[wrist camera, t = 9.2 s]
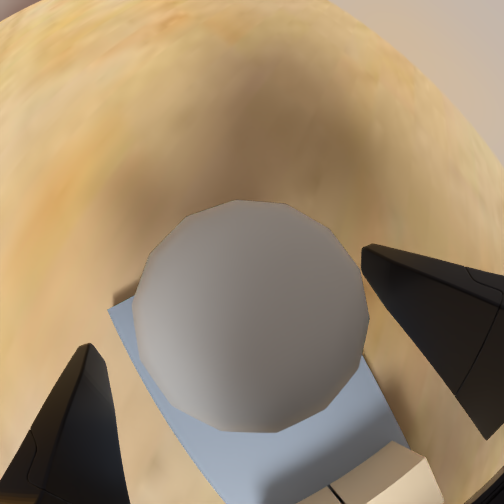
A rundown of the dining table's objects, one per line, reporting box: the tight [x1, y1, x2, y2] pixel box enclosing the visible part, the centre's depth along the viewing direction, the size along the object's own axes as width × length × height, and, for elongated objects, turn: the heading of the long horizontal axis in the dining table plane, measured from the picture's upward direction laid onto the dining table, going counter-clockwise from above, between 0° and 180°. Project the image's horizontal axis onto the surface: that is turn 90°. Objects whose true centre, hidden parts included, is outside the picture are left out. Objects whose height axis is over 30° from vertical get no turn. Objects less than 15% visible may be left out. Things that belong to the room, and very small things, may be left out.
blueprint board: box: [108, 295, 444, 504], centre depth 15 cm, size 22×12×5 cm, turn 30°
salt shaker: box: [132, 200, 370, 433], centre depth 11 cm, size 6×6×13 cm
